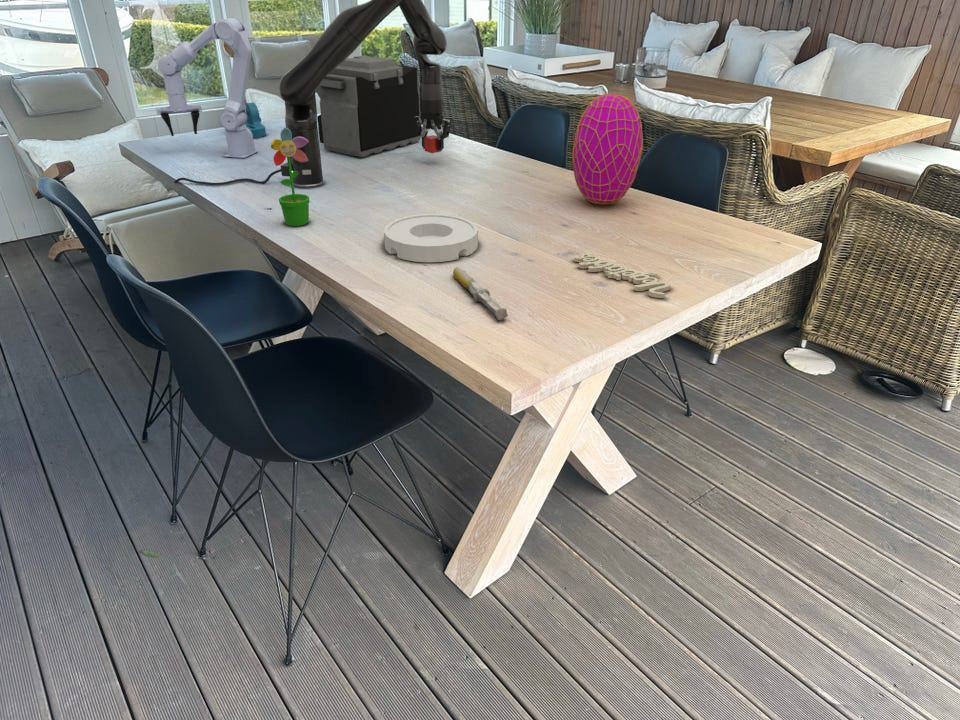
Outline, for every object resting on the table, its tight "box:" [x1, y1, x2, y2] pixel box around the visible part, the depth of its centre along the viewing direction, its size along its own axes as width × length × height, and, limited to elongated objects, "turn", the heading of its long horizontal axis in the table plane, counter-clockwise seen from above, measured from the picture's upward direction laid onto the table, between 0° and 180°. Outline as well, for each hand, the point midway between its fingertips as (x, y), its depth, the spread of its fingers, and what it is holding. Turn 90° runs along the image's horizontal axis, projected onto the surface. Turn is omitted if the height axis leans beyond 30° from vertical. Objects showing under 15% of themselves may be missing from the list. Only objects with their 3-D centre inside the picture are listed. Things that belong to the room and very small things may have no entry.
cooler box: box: [315, 55, 422, 159], centre depth 250 cm, size 37×22×30 cm, turn 144°
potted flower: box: [270, 127, 310, 227], centre depth 177 cm, size 9×8×25 cm
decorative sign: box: [574, 252, 671, 299], centre depth 155 cm, size 26×1×10 cm
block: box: [424, 134, 442, 154], centre depth 234 cm, size 4×4×5 cm
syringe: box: [452, 266, 509, 321], centre depth 145 cm, size 25×4×3 cm, turn 21°
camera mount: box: [244, 102, 267, 139], centre depth 271 cm, size 18×10×10 cm, turn 35°
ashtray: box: [383, 213, 479, 263], centre depth 170 cm, size 23×23×4 cm
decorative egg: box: [571, 92, 644, 205], centre depth 194 cm, size 19×19×30 cm
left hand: (184, 134), depth 242 cm, fingers open, 7 cm apart
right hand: (432, 149), depth 235 cm, fingers closed on block, 5 cm apart
